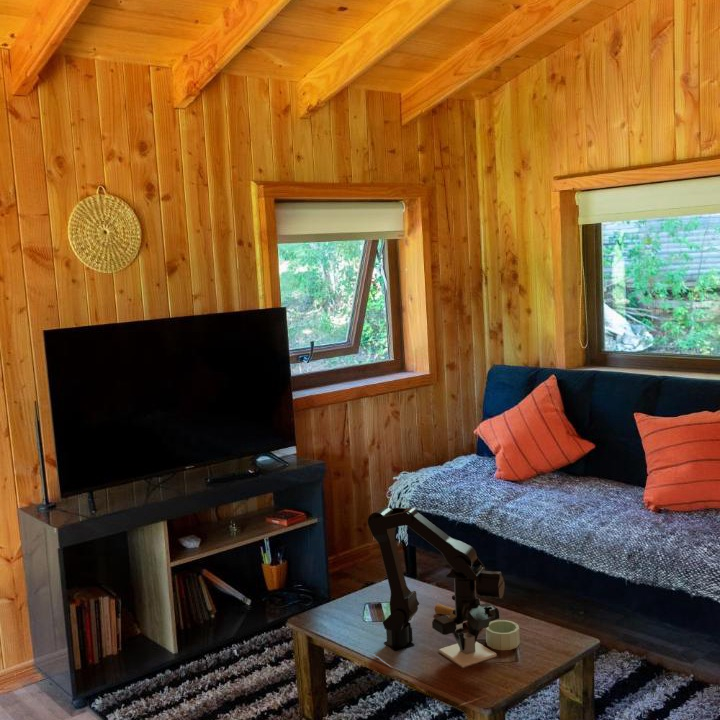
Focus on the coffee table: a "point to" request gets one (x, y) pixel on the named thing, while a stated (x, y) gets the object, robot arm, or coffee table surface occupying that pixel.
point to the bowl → (502, 635)
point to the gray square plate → (468, 665)
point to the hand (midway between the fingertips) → (467, 648)
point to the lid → (467, 651)
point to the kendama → (445, 611)
